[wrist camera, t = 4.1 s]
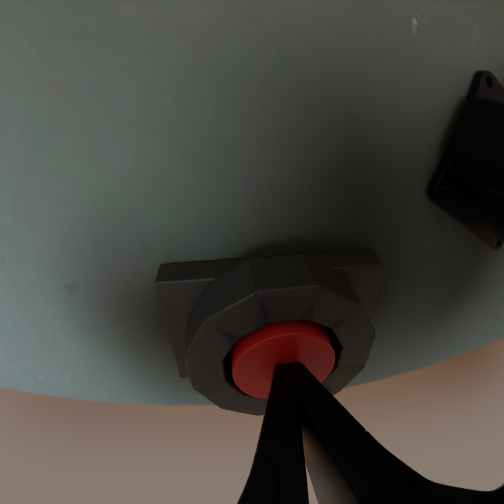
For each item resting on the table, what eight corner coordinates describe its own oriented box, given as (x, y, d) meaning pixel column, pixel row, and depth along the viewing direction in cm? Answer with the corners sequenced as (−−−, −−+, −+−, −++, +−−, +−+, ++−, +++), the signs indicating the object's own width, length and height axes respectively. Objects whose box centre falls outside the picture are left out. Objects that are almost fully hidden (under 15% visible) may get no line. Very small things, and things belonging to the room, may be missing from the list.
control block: (373, 232, 11) (414, 274, 8) (349, 349, 14) (370, 396, 11) (156, 247, 10) (138, 298, 8) (184, 367, 13) (181, 420, 11)
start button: (326, 293, 10) (343, 327, 9) (316, 359, 12) (327, 392, 10) (226, 303, 10) (228, 340, 8) (232, 369, 11) (236, 404, 10)
